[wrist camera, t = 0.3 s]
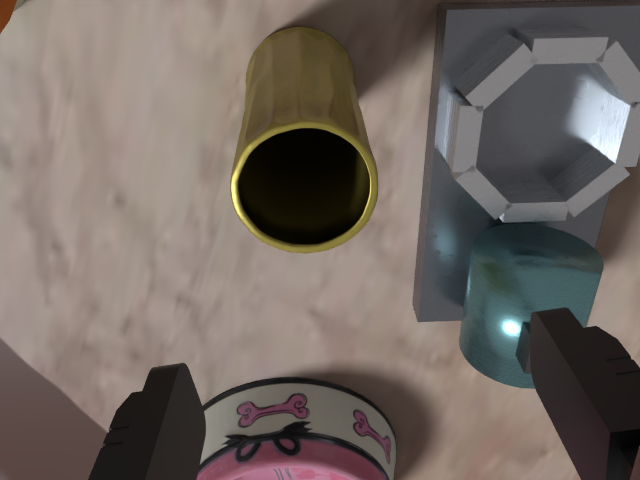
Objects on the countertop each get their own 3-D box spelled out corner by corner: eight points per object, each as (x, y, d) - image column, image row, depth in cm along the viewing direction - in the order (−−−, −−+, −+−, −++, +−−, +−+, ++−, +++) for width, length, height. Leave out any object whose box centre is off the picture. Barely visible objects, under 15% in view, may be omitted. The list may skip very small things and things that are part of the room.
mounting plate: (438, 3, 30) (497, 43, 22) (640, -1, 31) (779, 36, 22) (412, 304, 40) (445, 413, 32) (564, 298, 41) (638, 405, 32)
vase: (224, 65, 31) (180, 166, 19) (318, 2, 30) (336, 70, 18) (284, 152, 34) (280, 290, 22) (373, 99, 33) (422, 215, 20)
